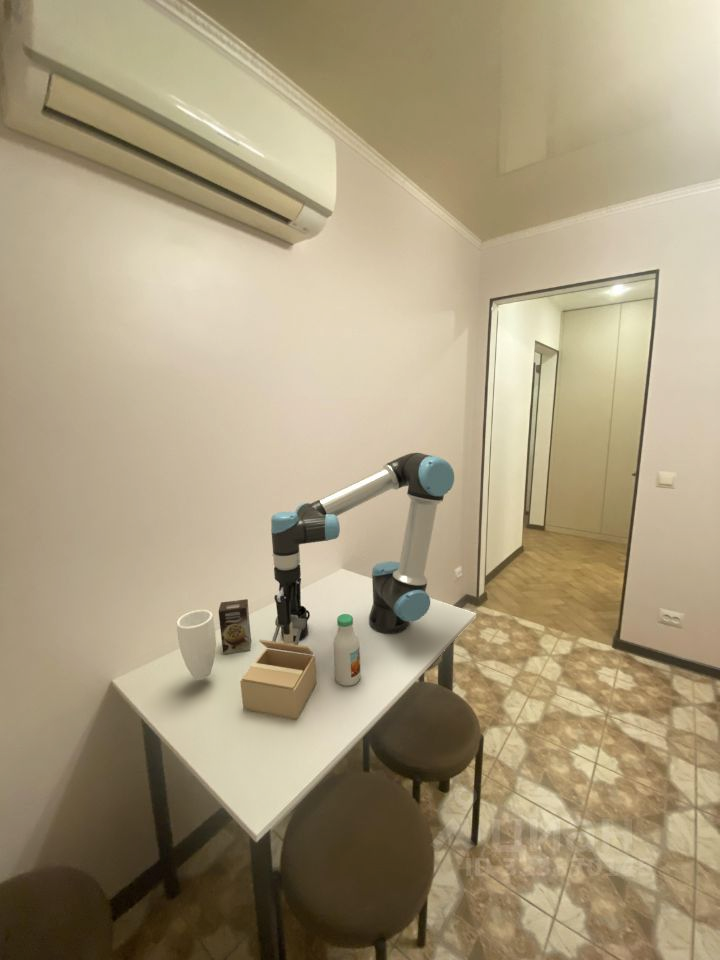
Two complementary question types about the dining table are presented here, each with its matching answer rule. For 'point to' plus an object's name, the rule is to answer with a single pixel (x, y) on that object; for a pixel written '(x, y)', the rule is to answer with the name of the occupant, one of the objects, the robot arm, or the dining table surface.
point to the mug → (305, 631)
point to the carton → (279, 683)
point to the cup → (197, 642)
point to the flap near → (297, 624)
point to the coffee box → (235, 626)
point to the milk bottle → (346, 652)
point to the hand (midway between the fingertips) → (291, 638)
